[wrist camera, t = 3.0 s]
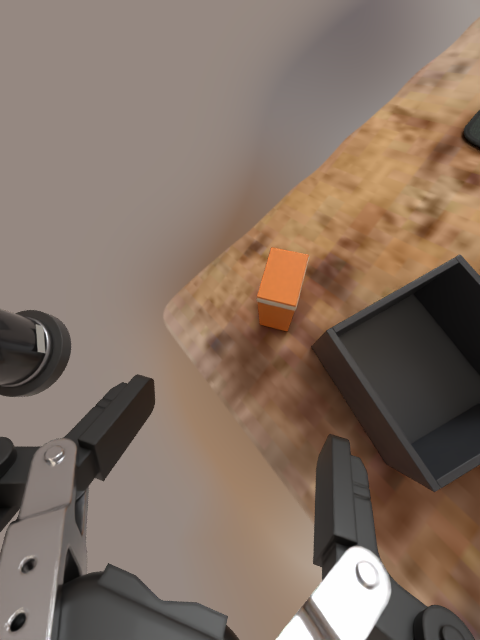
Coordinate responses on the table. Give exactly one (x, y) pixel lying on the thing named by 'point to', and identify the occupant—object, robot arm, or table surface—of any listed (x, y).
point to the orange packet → (281, 287)
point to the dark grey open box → (415, 373)
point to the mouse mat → (473, 130)
